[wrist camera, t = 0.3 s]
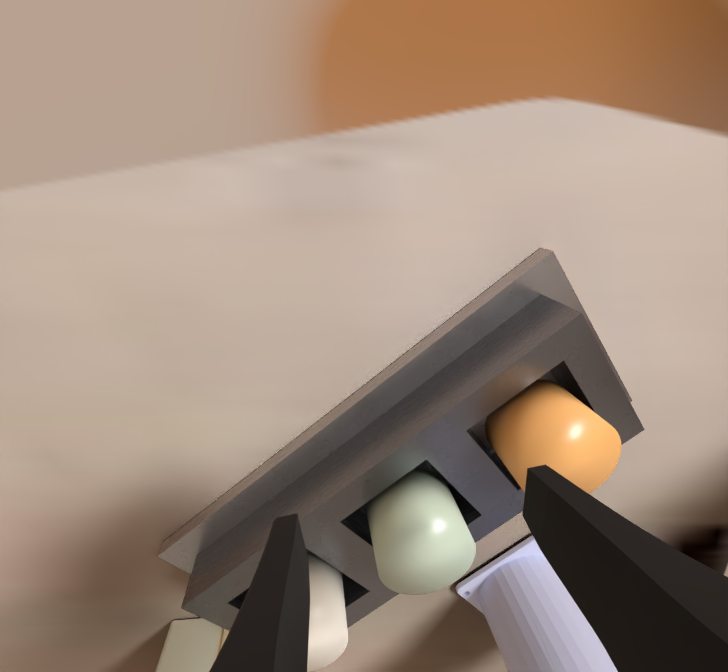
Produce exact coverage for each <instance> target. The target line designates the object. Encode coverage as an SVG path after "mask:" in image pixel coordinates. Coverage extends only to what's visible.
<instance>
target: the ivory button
mask: <svg viewBox="0 0 728 672" xmlns="http://www.w3.org/2000/svg"><path fill="white" fill-rule="evenodd" d="M306 552H307V556H308V560H309V580H310V618H309V640H308V661H307V672H312V671H315V670H318V669H321V668H323V667H325V666H327V665H329V664H330V663H332V662H333V661H335V660H336V659H337V658H338V657H339V656H340V655H341V654H342V653H343V652H344V650H345V649H346V647H347V644H348V630H347V620H346V610H345V599H344V589H343V579H342V572H341V571H339V570H338V569H336V568H335V567H333V566H332V565H330V564H329V563H327V562H326V561H324V560H323V559H321V558H320V557H318V556H317V555H315V554H314V553H312V552H311V551H306Z"/></svg>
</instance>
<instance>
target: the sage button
mask: <svg viewBox="0 0 728 672" xmlns="http://www.w3.org/2000/svg"><path fill="white" fill-rule="evenodd" d="M366 512H367V518H368V523H369V528H370V533H371V539H372V544H373V549H374V555H375V560H376V565H377V570H378V575H379V578H380V580H381V582H382V583H383V584H384V585H385V586H386V587H387V588H389V589H390V590H392V591H395V592H397V593H401V594H407V595H420V594H427V593H431V592H434V591H438V590H440V589H443V588H445V587H447V586H449V585H450V584H452V583H454V582H455V581H457V580H458V579H459V578H460V577H462V576H463V575H464V574H465V573H466V572H467V570H468V569H469V568H470V566H471V565H472V563H473V560H474V558H475V554H476V546H475V542H474V540H473V538H472V536H471V533H470V531H469V529H468V527H467V525H466V523H465V521H464V519H463V517H462V515H461V512H460V510H459V508H458V506H457V504H456V502H455V500H454V498H453V496H452V494H451V491H450V489H449V487H448V485H447V484H446V482H445V481H444V480H443V479H442V478H441V477H440V476H439V475H437V474H435V473H433V472H430V471H426V470H411V471H410V472H408V473H407V474H406V475H404V476H403V477H401V478H400V479H399V480H397V481H396V482H395V483H393V484H392V485H390V486H389V487H388V488H386V489H385V490H383V491H382V492H381V493H379V494H378V495H377V496H375V497H374V498H372V499H371V500H370V501H368V502H367V506H366Z"/></svg>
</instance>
